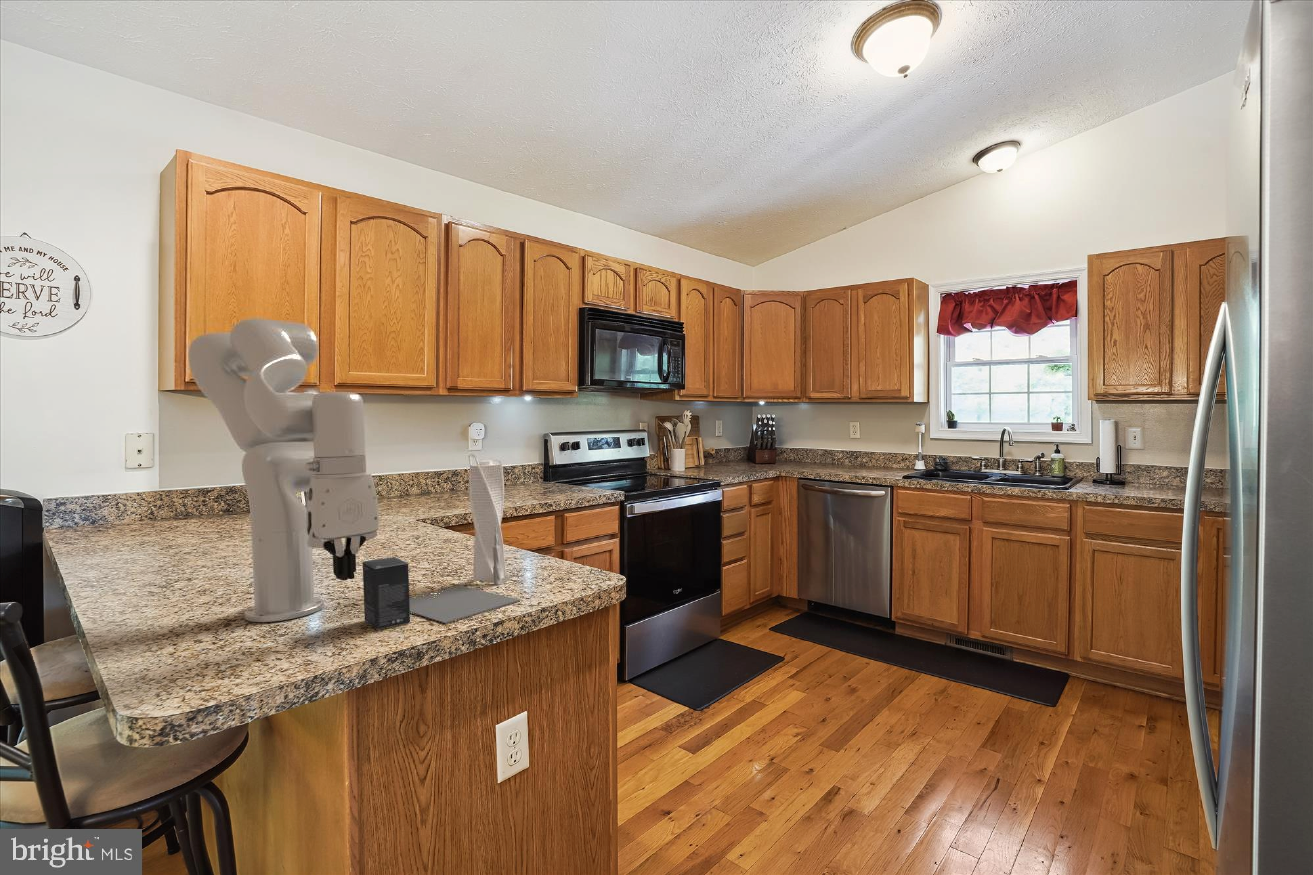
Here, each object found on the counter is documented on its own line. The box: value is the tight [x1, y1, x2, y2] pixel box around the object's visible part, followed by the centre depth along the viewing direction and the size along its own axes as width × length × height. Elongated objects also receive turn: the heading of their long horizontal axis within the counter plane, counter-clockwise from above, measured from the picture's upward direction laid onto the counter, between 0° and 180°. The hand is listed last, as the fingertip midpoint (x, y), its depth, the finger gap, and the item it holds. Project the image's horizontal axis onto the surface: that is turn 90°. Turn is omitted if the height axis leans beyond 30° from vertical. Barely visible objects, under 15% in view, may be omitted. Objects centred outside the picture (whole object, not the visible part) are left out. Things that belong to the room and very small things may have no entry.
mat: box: [409, 584, 521, 625], centre depth 117 cm, size 20×16×1 cm
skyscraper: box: [468, 453, 514, 586], centre depth 134 cm, size 8×8×28 cm
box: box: [361, 556, 411, 631], centre depth 106 cm, size 8×6×11 cm
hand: (345, 578), depth 101 cm, fingers closed
